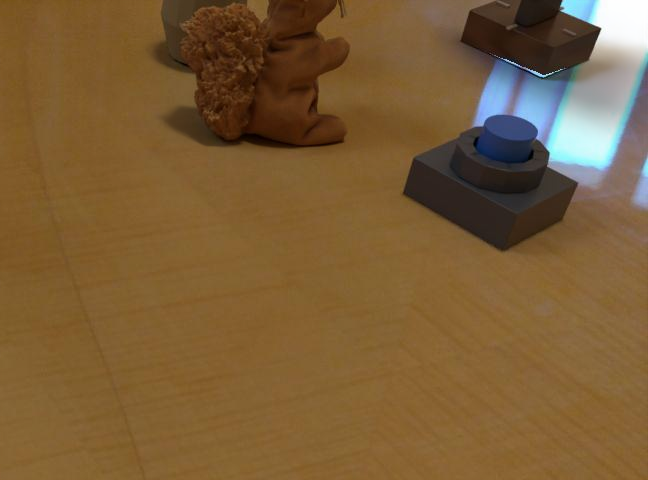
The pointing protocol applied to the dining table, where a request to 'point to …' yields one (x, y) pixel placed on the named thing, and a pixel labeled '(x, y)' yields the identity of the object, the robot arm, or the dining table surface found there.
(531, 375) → the dining table surface
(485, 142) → the blue push button
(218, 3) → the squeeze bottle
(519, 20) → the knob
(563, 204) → the push button base
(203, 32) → the stuffed squirrel
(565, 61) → the panel
